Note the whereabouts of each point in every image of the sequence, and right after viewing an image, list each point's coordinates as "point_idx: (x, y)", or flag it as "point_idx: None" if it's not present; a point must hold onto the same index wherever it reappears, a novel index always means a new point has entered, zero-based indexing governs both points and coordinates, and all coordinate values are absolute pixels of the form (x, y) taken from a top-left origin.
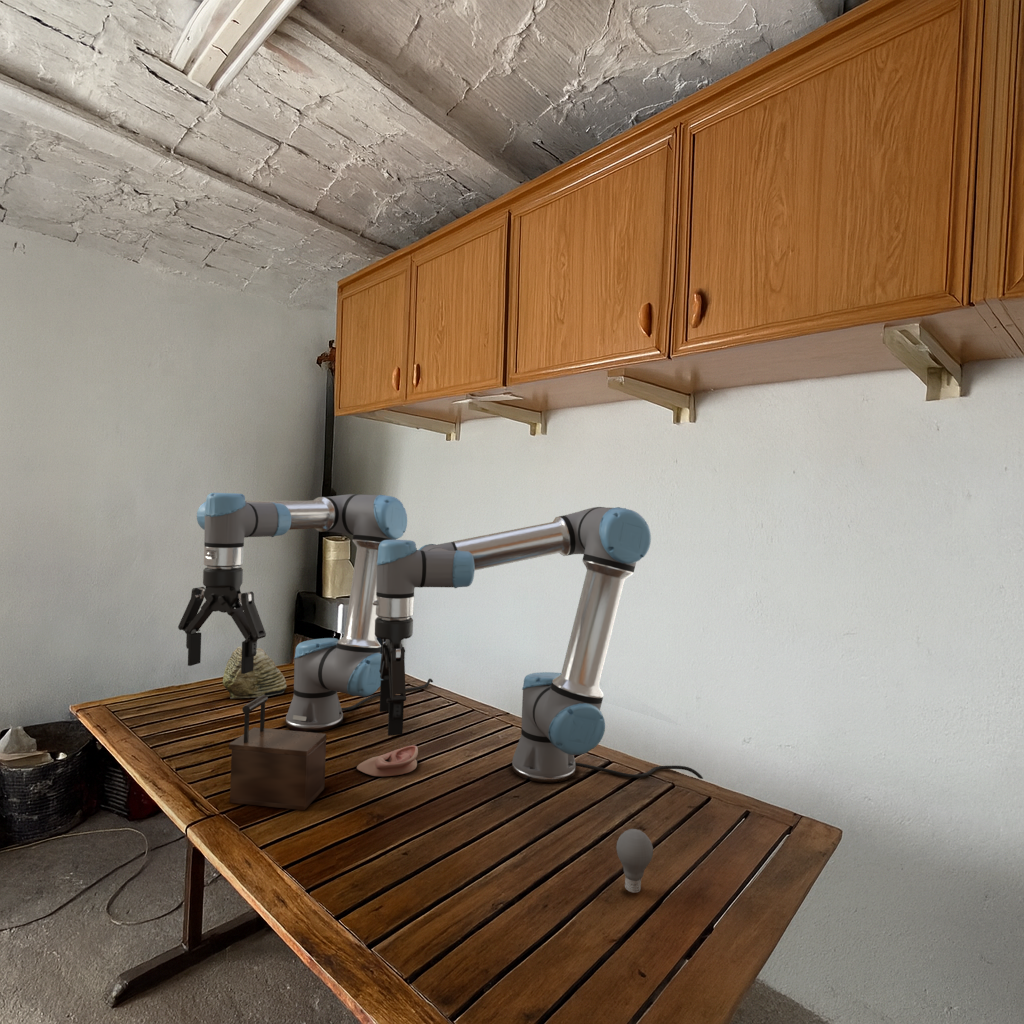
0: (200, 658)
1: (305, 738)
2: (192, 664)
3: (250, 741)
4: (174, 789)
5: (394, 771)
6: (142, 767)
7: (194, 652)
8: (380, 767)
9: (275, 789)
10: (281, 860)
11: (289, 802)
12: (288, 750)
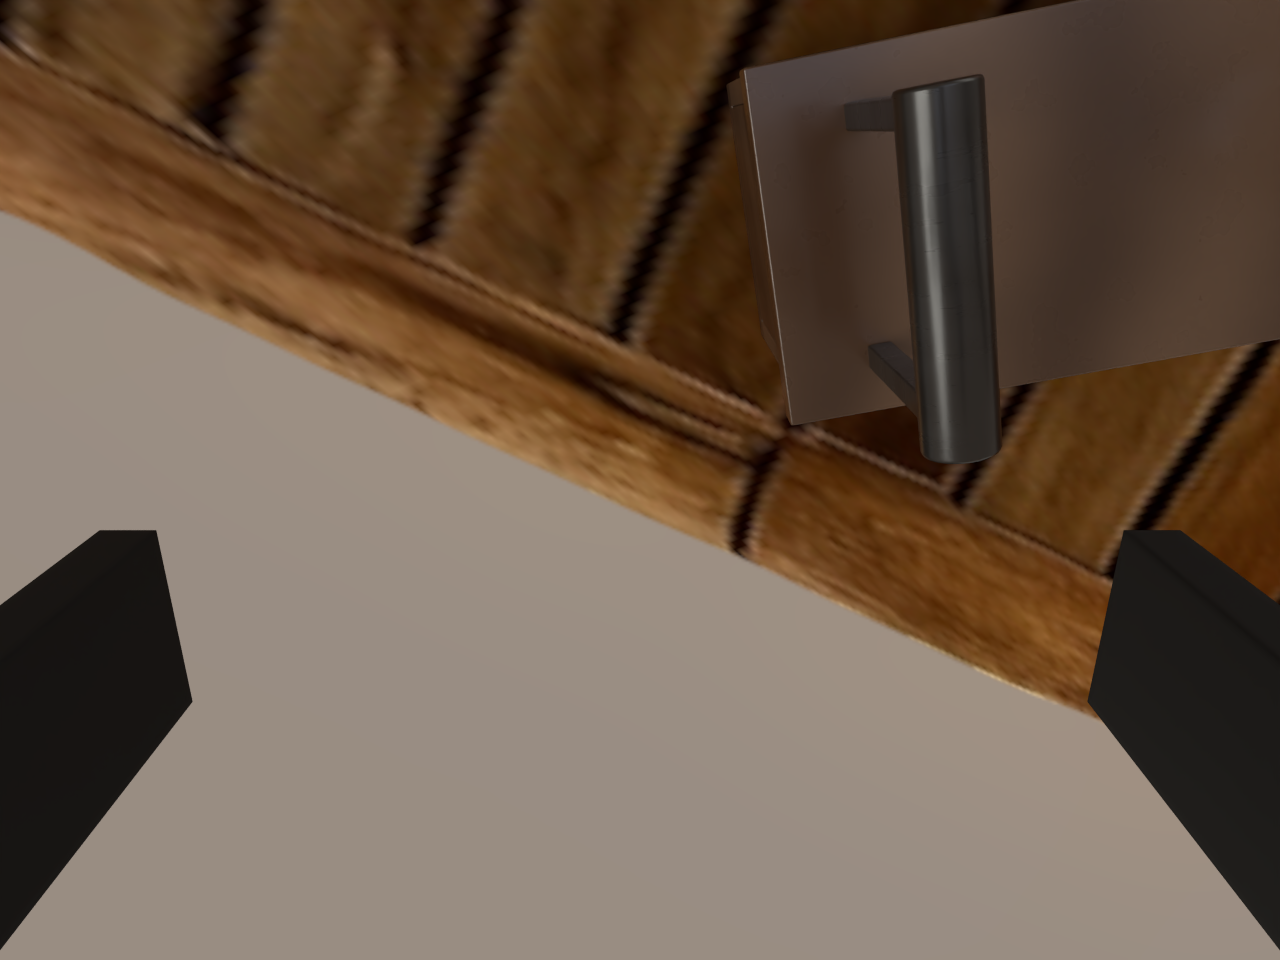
0: (115, 561)
1: (1275, 110)
2: (180, 678)
3: (900, 330)
4: (412, 327)
5: None
6: (23, 186)
7: (69, 765)
8: None
9: None
10: None
11: None
12: (1232, 344)
